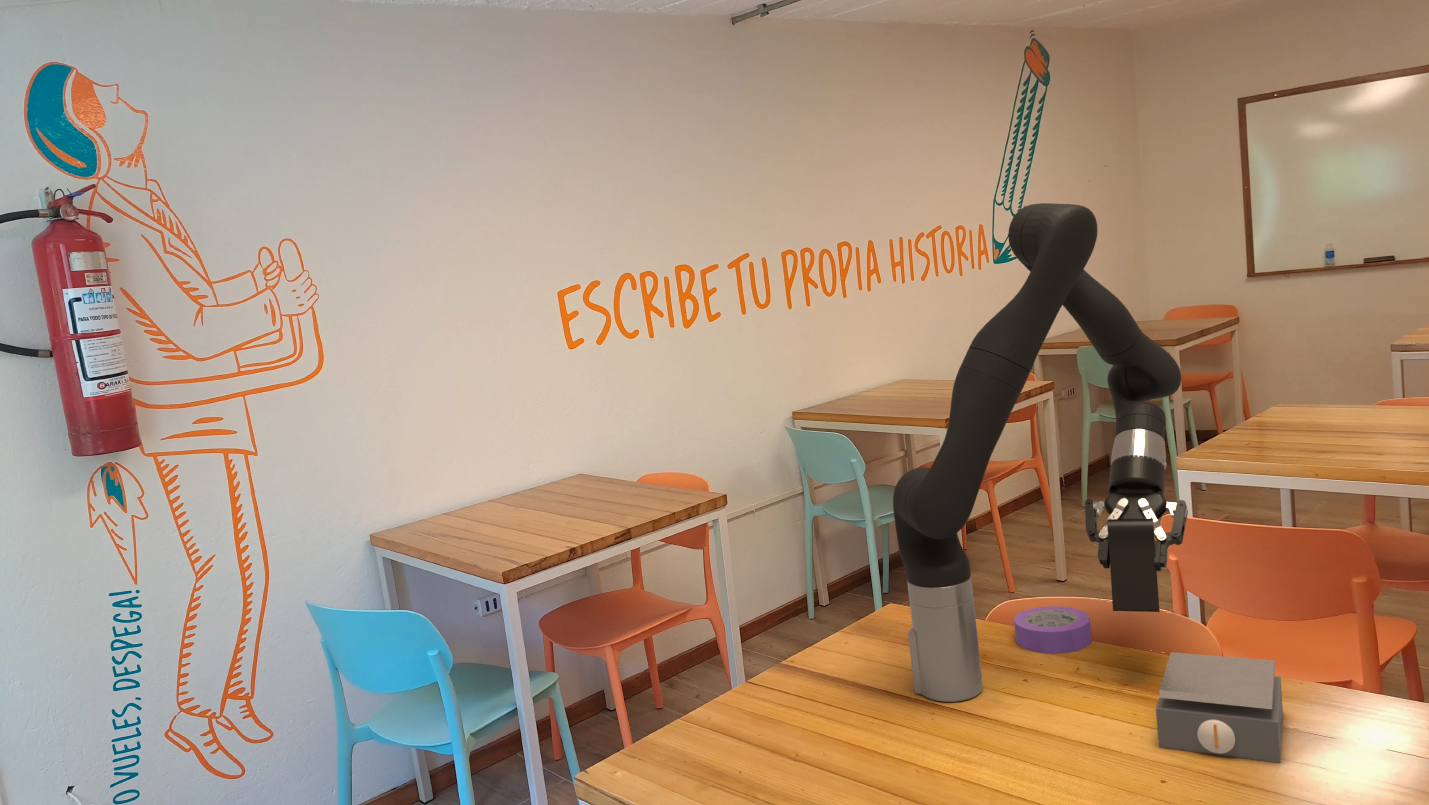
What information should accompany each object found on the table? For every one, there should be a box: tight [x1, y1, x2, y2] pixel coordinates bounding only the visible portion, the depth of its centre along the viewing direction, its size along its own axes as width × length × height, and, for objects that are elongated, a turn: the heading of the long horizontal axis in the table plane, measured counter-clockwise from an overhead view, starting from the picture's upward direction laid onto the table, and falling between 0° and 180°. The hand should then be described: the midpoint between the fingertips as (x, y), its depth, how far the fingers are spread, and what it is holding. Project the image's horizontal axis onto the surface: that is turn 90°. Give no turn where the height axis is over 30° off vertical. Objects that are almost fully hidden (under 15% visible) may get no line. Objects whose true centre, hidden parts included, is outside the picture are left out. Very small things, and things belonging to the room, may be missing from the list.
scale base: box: [1155, 675, 1284, 764], centre depth 120 cm, size 13×14×5 cm
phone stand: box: [1107, 518, 1160, 613], centre depth 136 cm, size 9×6×12 cm, turn 156°
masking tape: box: [1013, 605, 1093, 655], centre depth 155 cm, size 12×12×4 cm
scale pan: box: [1158, 651, 1276, 709], centre depth 120 cm, size 12×12×1 cm
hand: (1131, 567), depth 135 cm, fingers closed on phone stand, 6 cm apart
